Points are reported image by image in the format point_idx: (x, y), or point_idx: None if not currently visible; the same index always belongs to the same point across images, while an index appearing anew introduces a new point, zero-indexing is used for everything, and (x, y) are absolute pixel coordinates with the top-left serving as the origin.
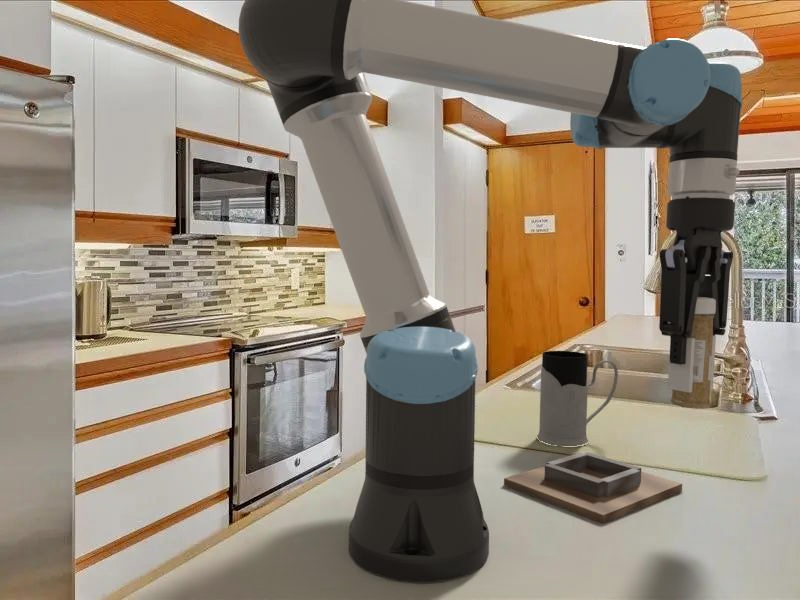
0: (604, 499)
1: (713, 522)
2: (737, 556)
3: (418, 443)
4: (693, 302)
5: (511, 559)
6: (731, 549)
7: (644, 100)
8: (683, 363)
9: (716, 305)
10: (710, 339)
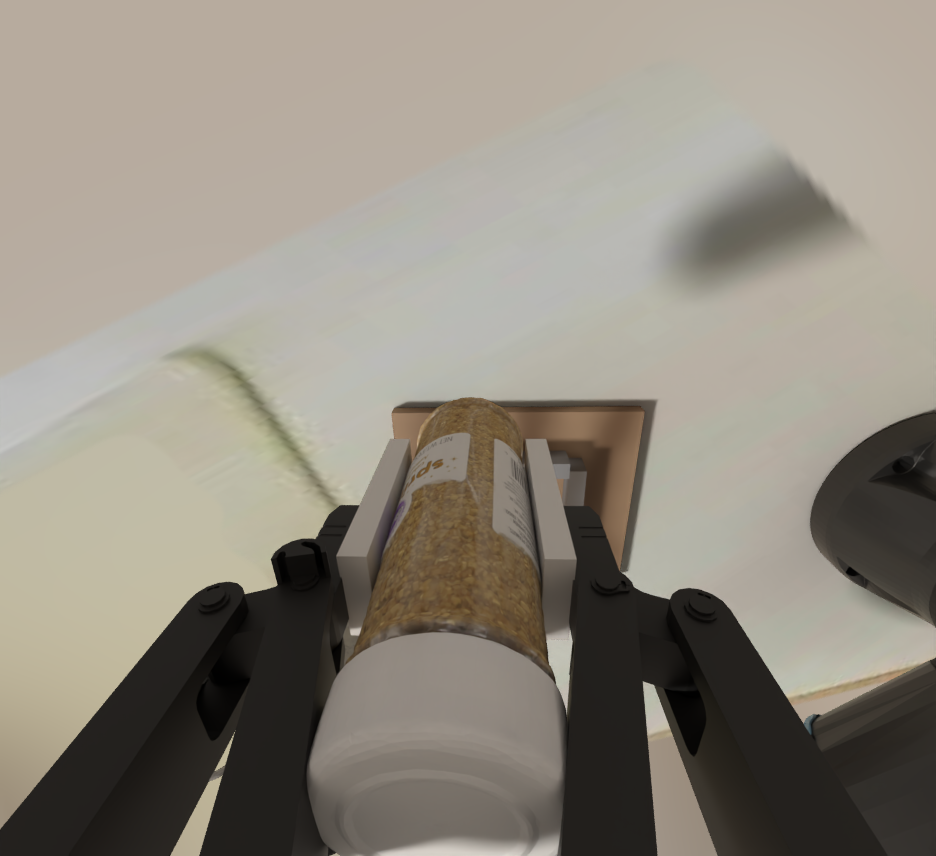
0: (578, 448)
1: (487, 298)
2: (600, 193)
3: None
4: (613, 761)
5: (863, 408)
6: (579, 216)
7: None
8: (573, 507)
9: (267, 713)
10: (453, 526)
